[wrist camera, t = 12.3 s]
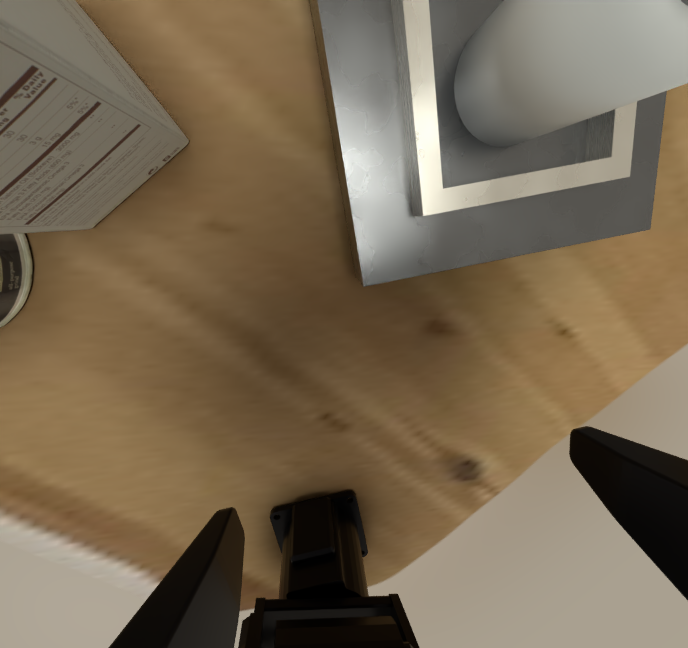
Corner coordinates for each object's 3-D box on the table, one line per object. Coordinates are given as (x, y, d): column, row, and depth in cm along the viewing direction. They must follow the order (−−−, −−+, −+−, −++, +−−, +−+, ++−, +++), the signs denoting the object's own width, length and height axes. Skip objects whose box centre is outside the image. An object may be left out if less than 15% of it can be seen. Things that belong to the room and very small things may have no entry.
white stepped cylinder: (561, 136, 16) (894, 27, 7) (458, 155, 16) (663, 70, 7) (564, 3, 14) (1008, -369, 5) (449, 22, 14) (707, -332, 5)
